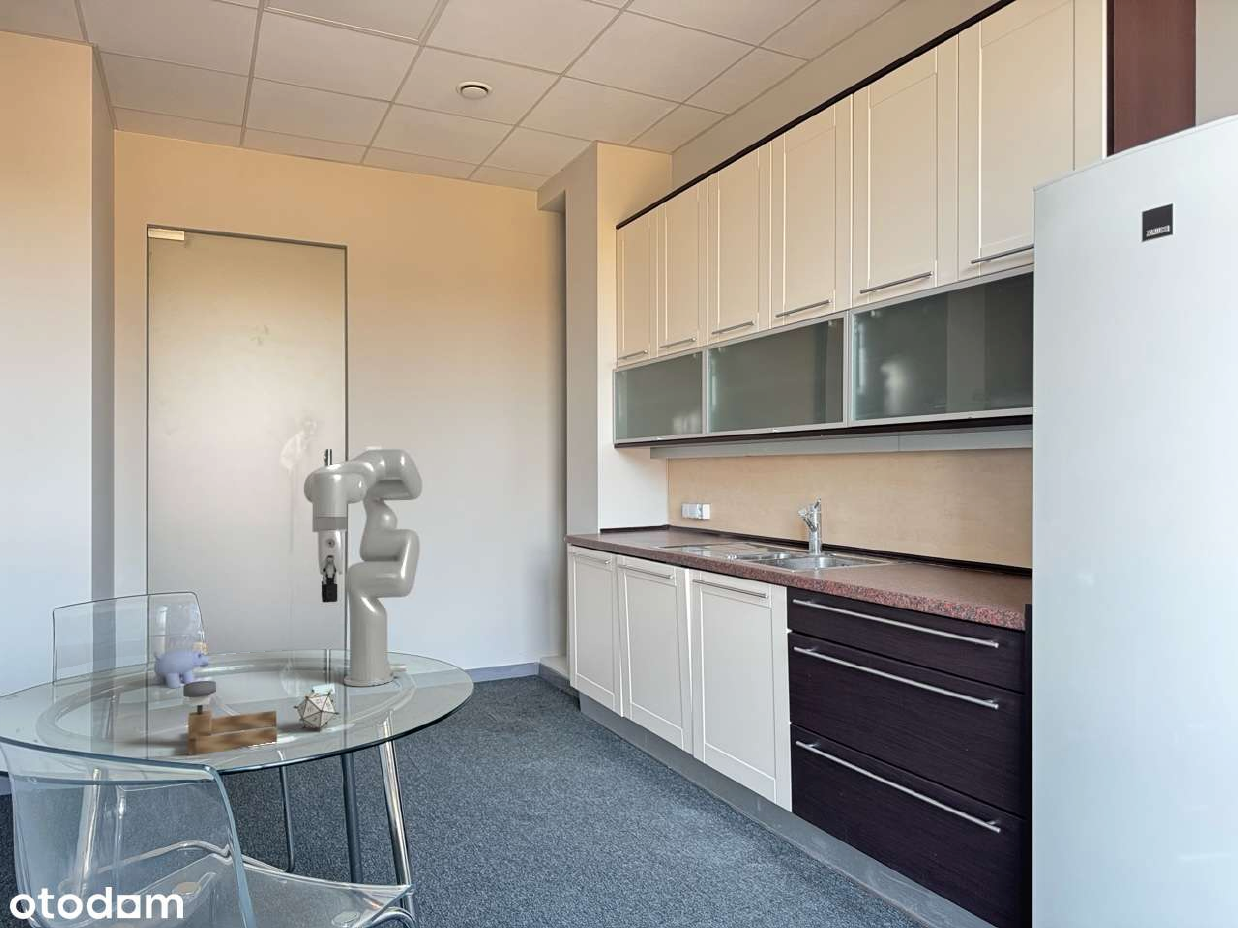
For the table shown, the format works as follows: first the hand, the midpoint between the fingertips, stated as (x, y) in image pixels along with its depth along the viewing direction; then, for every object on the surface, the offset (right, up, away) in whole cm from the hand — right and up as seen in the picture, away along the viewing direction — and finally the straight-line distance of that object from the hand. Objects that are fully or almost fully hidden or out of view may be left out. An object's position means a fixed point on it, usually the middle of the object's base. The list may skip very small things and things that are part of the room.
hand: (329, 599), depth 189 cm
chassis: (-13, -26, -18) cm, 34 cm away
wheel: (-19, -18, -21) cm, 33 cm away
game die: (+1, -26, -12) cm, 29 cm away
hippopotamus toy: (-50, -27, +30) cm, 65 cm away
